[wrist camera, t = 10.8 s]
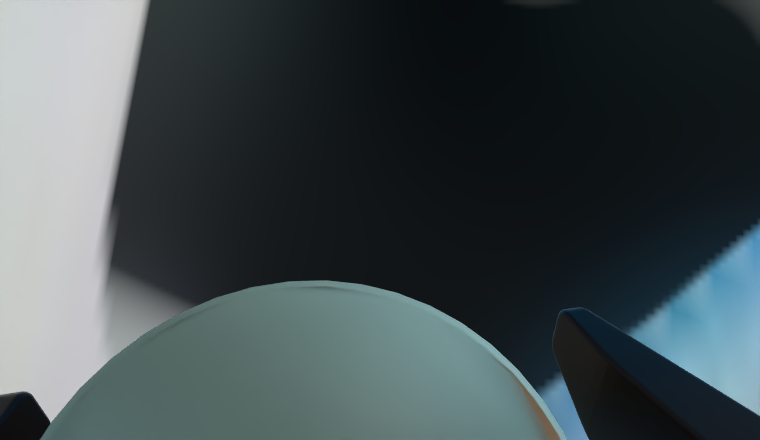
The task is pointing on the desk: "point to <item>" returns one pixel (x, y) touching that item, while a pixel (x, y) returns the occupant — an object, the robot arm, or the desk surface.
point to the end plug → (307, 374)
